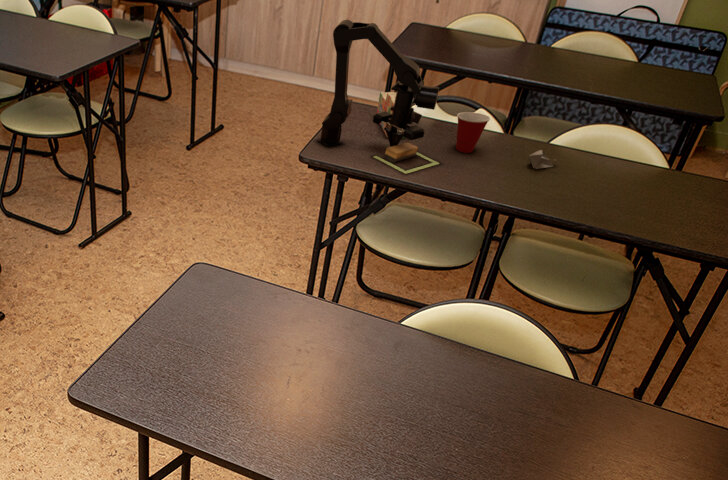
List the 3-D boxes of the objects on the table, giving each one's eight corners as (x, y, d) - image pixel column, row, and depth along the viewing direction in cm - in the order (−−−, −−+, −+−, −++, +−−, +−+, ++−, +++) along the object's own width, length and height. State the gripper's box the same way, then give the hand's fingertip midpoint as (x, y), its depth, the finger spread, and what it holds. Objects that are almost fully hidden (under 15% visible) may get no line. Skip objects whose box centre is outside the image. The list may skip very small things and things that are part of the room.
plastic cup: (474, 143, 245) (483, 109, 238) (484, 155, 237) (495, 121, 229) (444, 142, 245) (453, 109, 237) (453, 155, 237) (463, 121, 229)
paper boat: (537, 155, 235) (566, 156, 229) (532, 173, 236) (560, 175, 230) (526, 143, 227) (555, 144, 221) (520, 163, 228) (549, 164, 221)
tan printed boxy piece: (375, 116, 264) (381, 83, 256) (391, 116, 264) (398, 83, 256) (387, 138, 247) (394, 104, 239) (404, 138, 247) (412, 104, 239)
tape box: (405, 174, 225) (405, 173, 225) (373, 157, 235) (373, 156, 235) (439, 163, 231) (439, 163, 231) (406, 147, 241) (406, 147, 241)
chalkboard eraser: (394, 163, 231) (397, 153, 229) (384, 157, 234) (386, 148, 232) (415, 157, 235) (418, 147, 233) (405, 151, 239) (407, 142, 236)
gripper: (441, 109, 224) (429, 154, 234) (400, 91, 236) (390, 135, 246) (417, 115, 219) (406, 161, 229) (376, 97, 231) (367, 141, 241)
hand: (392, 149), depth 237 cm, fingers closed
